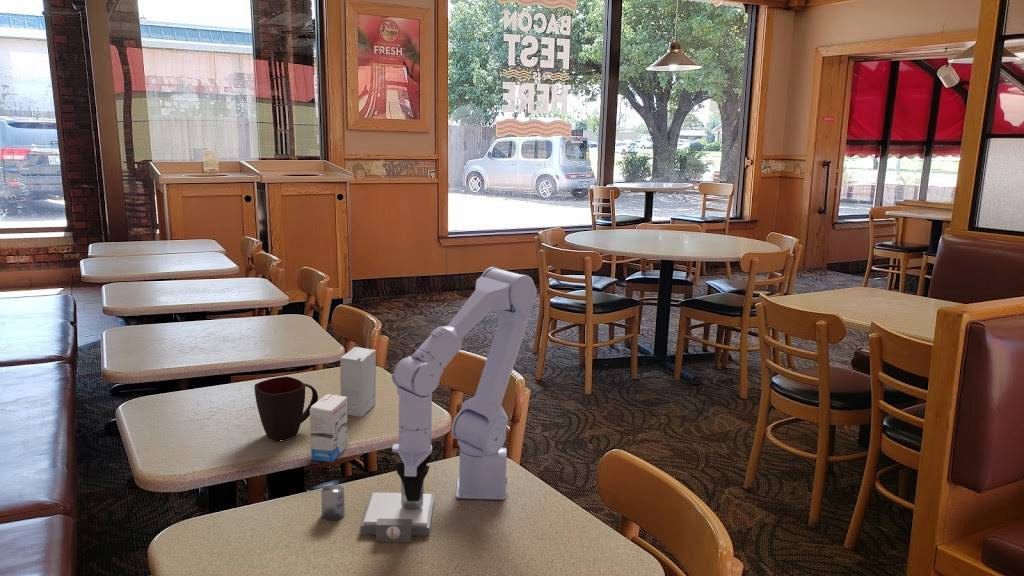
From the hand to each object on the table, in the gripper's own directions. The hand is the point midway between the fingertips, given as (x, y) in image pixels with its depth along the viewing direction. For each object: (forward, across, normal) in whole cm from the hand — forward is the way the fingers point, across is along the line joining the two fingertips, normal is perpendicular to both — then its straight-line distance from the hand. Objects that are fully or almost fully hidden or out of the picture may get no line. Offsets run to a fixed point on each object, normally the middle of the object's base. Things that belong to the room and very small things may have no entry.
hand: (414, 493), depth 133 cm
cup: (+5, -34, -32) cm, 47 cm away
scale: (+5, +1, -3) cm, 6 cm away
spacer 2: (+2, 0, 0) cm, 2 cm away
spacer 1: (+5, 0, -15) cm, 16 cm away
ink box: (+5, -25, -21) cm, 33 cm away
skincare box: (+5, -48, -19) cm, 52 cm away
